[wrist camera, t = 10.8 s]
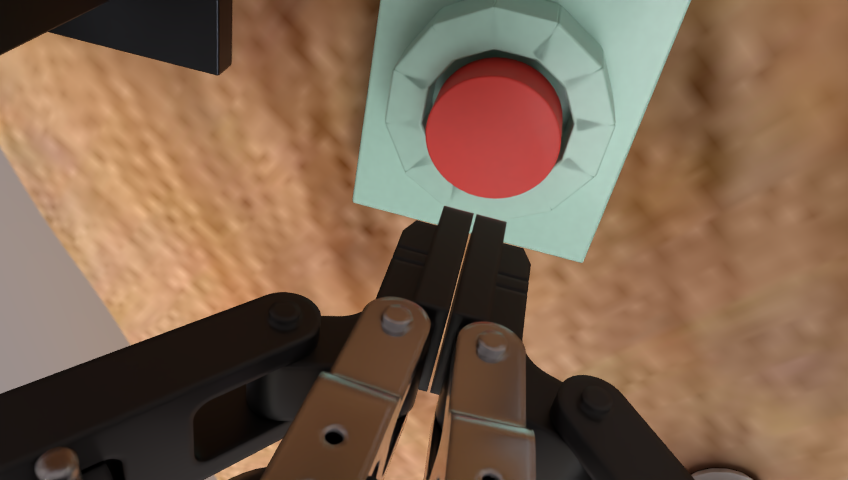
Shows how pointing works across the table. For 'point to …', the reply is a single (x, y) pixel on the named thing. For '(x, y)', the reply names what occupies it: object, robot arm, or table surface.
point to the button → (495, 128)
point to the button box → (557, 61)
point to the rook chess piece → (720, 474)
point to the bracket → (129, 27)
